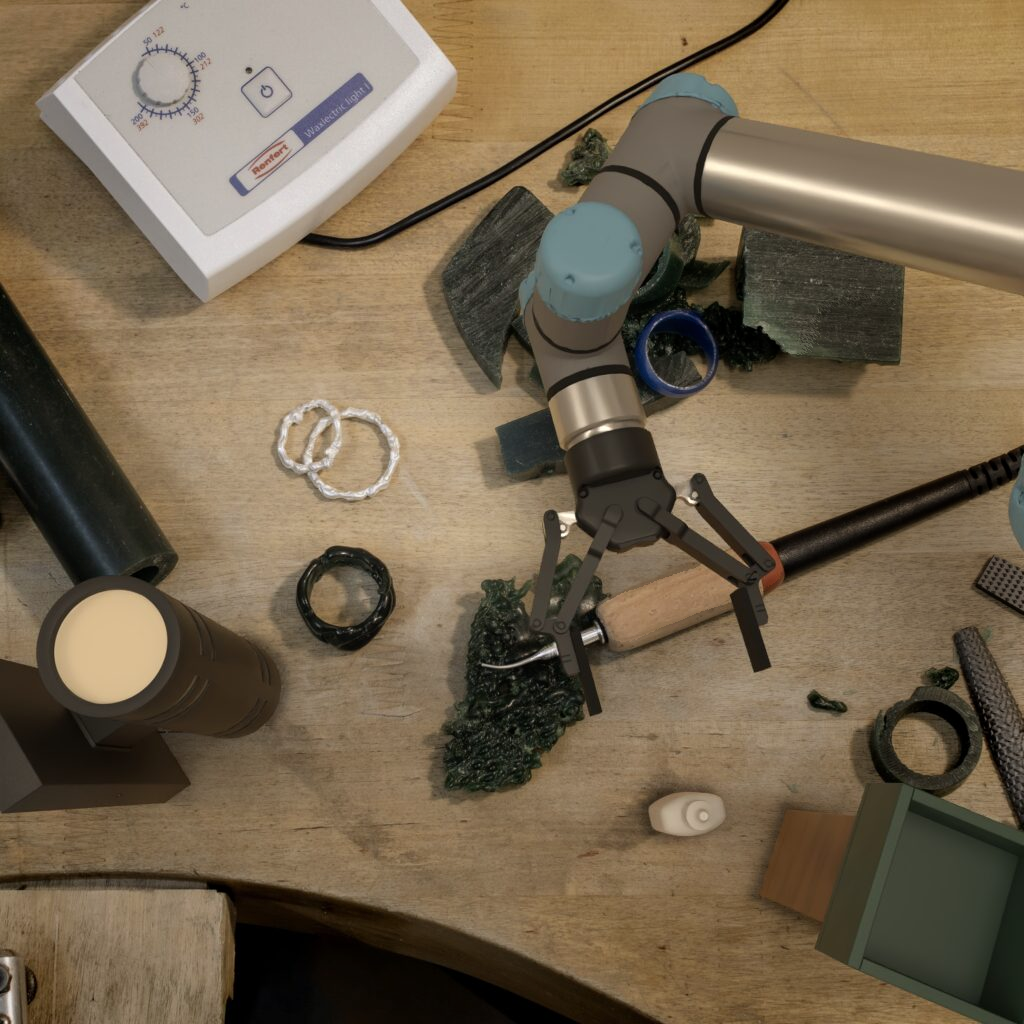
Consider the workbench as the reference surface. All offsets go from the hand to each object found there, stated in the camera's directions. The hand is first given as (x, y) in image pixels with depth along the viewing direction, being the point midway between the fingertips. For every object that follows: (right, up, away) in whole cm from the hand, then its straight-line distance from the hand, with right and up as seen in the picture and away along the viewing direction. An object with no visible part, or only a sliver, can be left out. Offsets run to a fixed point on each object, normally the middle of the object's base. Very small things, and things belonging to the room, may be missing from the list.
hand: (680, 692), depth 82 cm
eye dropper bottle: (+2, -13, +14) cm, 20 cm away
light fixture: (-42, -4, +16) cm, 45 cm away
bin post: (+14, -18, +13) cm, 27 cm away
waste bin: (+15, -12, -11) cm, 22 cm away
